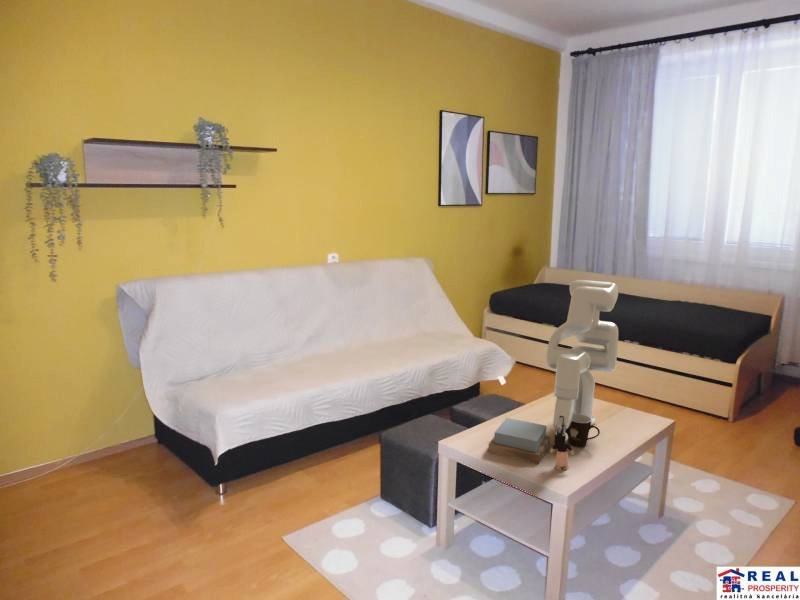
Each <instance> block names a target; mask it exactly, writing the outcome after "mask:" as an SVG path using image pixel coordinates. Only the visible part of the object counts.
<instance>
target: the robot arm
mask: <svg viewBox="0 0 800 600" xmlns="http://www.w3.org/2000/svg"><path fill="white" fill-rule="evenodd" d="M569 294H570V296H571V298H570V303H569V308H568V313H567V317H566V322H564V323H563V324H561V325H559V326H558V327H557V328H556V329H555V330H554V331H553V333H551V336H550V338H549V341H548V344H547V350H546V355H545V363H546V365H547V367H548V368H550V369H553V370H555V379H554V393H553V394H554V397H556V399H555V403H554V414H553V420H552V426H553V427H555V428H556V429H555V434H554V444H553V445H555V446H558V447H563V448H564V447H565V443H566V442H565V433H567V435H568V437H569V436H570V430H571V425H570V424H571V421H572V418H573V414H582V415H586V416H588V417H590V418H591V420H592V421H591V425H590V426H594V424H596V417H594V416H593V410H594V409H593V407H594V396H595V386H596V380H595V376H594V375H593V373H592V372H591V371H596V372H602V373H603V372H604V373H612V372H614V370H615V369H616V365H617V357H618V347H619V345H618V344H619V327H618V326H617V324H616V323H614V322H612V321H606V320H600V312H606V313H607V312H608V313H609V312H612V310H614V307H615V304H616V303H617V300H618V299H619V298H618V297H619V287H618V285H617V284H616V283H614V282H609V281H599V280H598V281H597V280H589V279H576V280H573V281H571V282H570V283H569ZM573 336H575V339H576V341H578V342H580V343H581V344H577V345H574V346H573V347H571V348H565V347H560V346H558V345H559V344H560V342H562V341H563V340H565V339H567V338H570V337H573ZM582 343H583V344H582ZM587 344H588V345H587ZM593 345H594V346H593ZM595 345H596V346H595Z"/></svg>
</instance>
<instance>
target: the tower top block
mask: <svg viewBox="0 0 800 600" xmlns="http://www.w3.org/2000/svg"><path fill="white" fill-rule="evenodd" d="M546 434H547V425H545V424H542V423H541V424H540V423H535V422H530V421H526V420H519V419H516V418H511V417H505V419H504V420H503V422H502V423H501V424H500V425H499V426H498V428H497V429H496V430H495V431H494V436H493V438H494V443H497V444H502V445H506V446H511V447H515V448H520V449H524V450H529V451H533V452H537V450H538V448H539V447H540V445H541V443H542V441H543V440H544V438H545V436H546Z"/></svg>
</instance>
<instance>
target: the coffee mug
mask: <svg viewBox="0 0 800 600" xmlns="http://www.w3.org/2000/svg"><path fill="white" fill-rule="evenodd" d="M591 421H592V420H591V418H590V417H588V416H586V415H582V414H573V418H572V421H571V424H570V425H571V430H570V436H569V437H568V440H567V443H568V444H569V445H570V446H571V447H574V448H585V447H586V446H587V444H588V443H587V442H588V441H590V440H592V439H595V438H597V437H599V435H600V434H601V431H600V429H599V427H597V426H596V425H591ZM590 425H591V426H590ZM593 428H594V429H595V430H597V434H596V435H595V436H594V435H593V436H592V437H591V436H590V437H589V433H590V430H591V429H593Z"/></svg>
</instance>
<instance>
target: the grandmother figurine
mask: <svg viewBox="0 0 800 600" xmlns="http://www.w3.org/2000/svg"><path fill="white" fill-rule="evenodd" d="M554 451H556V453H555V455H556V456H555V464H554V465H555V466H554V467H555V469H556V470H562V469H563V470H564V471H567V470H568V469H569V468H570V467H569V465H568V464H569V455H568V453H570V455H571V456H574V455H575V453H574V450H573V447H572V446H571V445H570V444H568V435H567V433H565V447H564V448H563V447H558V446H555V445H554V444H553V445H552V446H551V448H550V450H549V452H550V453H551V454H552V453H553V452H554ZM568 451H569V452H568Z"/></svg>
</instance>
